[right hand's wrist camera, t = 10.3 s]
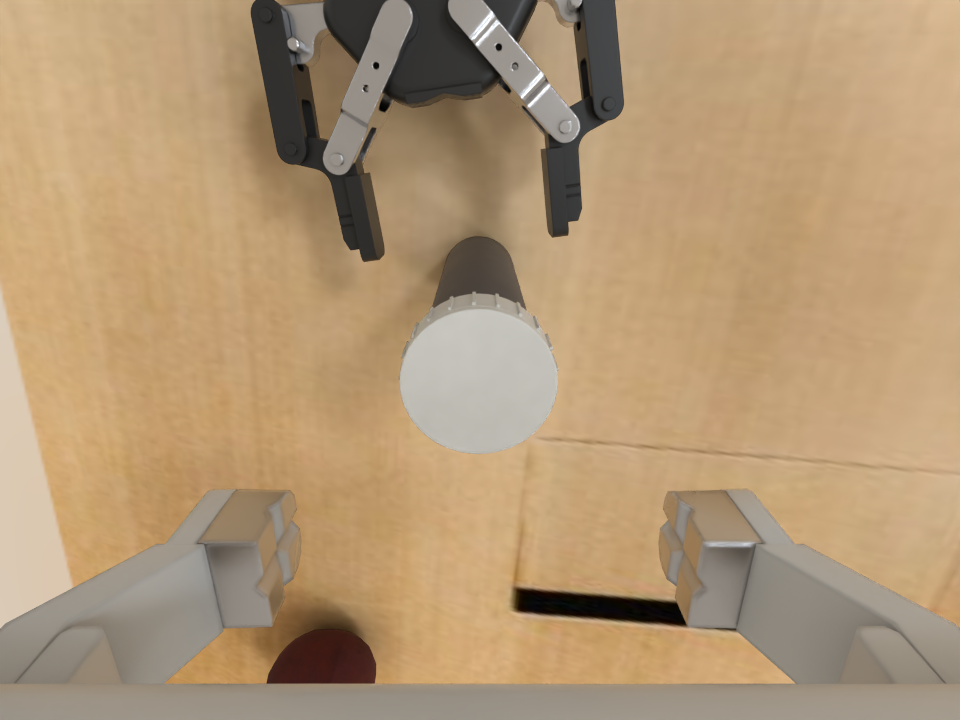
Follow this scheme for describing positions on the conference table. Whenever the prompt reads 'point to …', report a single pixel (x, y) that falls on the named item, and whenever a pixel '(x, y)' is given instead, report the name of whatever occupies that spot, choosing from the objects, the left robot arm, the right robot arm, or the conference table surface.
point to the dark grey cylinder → (479, 272)
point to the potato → (325, 660)
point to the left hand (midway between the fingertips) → (466, 246)
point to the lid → (478, 374)
